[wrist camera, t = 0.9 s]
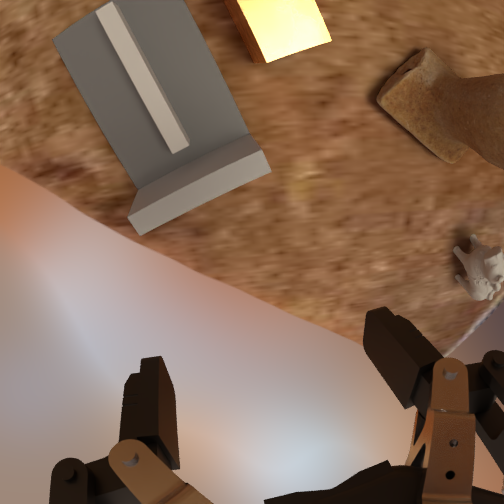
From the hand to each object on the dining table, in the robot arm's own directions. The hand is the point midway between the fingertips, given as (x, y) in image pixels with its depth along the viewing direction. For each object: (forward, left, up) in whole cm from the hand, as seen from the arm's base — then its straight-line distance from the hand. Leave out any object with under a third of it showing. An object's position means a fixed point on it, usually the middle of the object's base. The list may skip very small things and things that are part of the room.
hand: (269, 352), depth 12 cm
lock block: (-12, +10, -23) cm, 28 cm away
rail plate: (-10, -2, -23) cm, 25 cm away
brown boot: (+2, +26, -24) cm, 35 cm away
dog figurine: (+28, +29, -24) cm, 47 cm away
